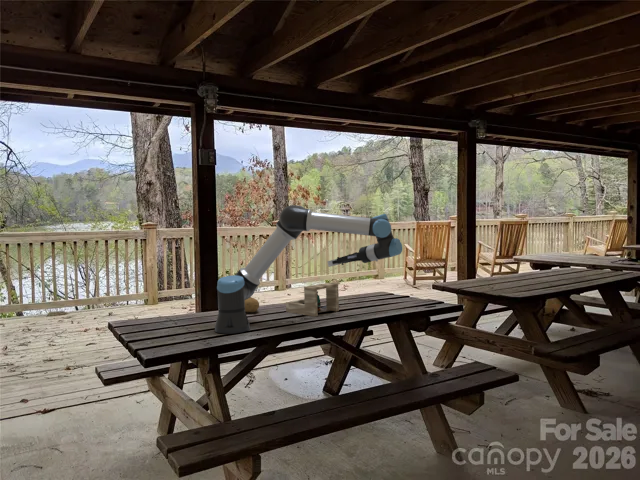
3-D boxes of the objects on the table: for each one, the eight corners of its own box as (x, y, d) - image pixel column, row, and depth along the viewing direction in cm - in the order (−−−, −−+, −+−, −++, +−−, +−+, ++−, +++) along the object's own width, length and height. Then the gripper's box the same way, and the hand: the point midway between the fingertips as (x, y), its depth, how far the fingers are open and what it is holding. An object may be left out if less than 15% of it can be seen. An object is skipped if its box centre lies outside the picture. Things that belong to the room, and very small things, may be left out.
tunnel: (314, 316, 230) (314, 288, 229) (286, 311, 245) (285, 284, 244) (338, 310, 243) (338, 283, 242) (310, 306, 258) (309, 281, 257)
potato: (246, 315, 238) (246, 300, 237) (236, 311, 250) (236, 296, 249) (264, 313, 243) (263, 298, 242) (253, 309, 255) (253, 294, 254)
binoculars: (296, 293, 243) (309, 289, 250) (298, 313, 244) (311, 308, 251) (309, 295, 237) (322, 290, 244) (311, 315, 238) (324, 310, 245)
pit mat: (330, 309, 249) (330, 308, 249) (320, 307, 253) (320, 307, 253) (340, 306, 254) (340, 306, 254) (330, 305, 259) (330, 304, 259)
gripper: (364, 261, 209) (322, 272, 223) (378, 261, 220) (337, 271, 233) (361, 245, 210) (319, 256, 224) (375, 245, 221) (334, 256, 234)
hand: (328, 264), depth 228 cm, fingers closed
